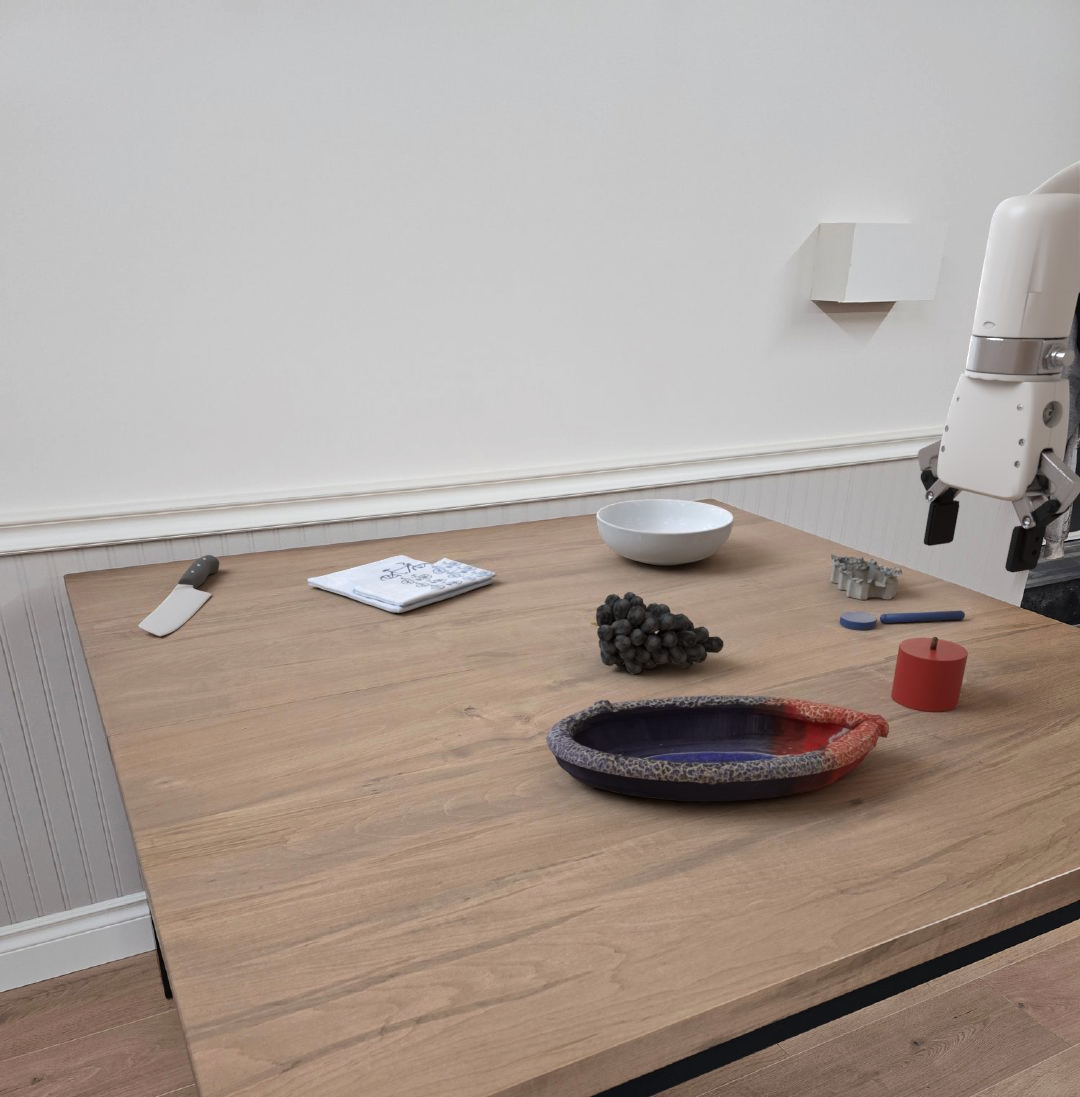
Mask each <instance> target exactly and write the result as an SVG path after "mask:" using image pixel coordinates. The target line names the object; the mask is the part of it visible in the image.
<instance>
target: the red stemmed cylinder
mask: <svg viewBox="0 0 1080 1097" xmlns="http://www.w3.org/2000/svg"><path fill="white" fill-rule="evenodd" d="M968 656H969V652H968V650H967V649H966V648H965V647H963V646H962V645H960V644H958V643H955V642H953V641H949V640H946V639H941V638H939V637H938V636H933V637H911V638H908V639H907V638H906V639H904V640H902V641H901V642H900V643H899V645H898V651H897V655H896V662H895V668H894V675H893V680H892V689H891V693H890V695H891V698H892V699H893V701H895V702H896V703H897V704H900V705H901V706H903V707H905V708H909V709H911V710H912V709H913V710H916V711H921V712H930V713H940V712H941V713H942V712H947V711H952V710H954V709H955V708H956V707H957V706H958V705H959V700H960V695H961V692H962V686H963V681H964V677H965V676H964V675H965V670H966V666H967V660H968Z"/></svg>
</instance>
